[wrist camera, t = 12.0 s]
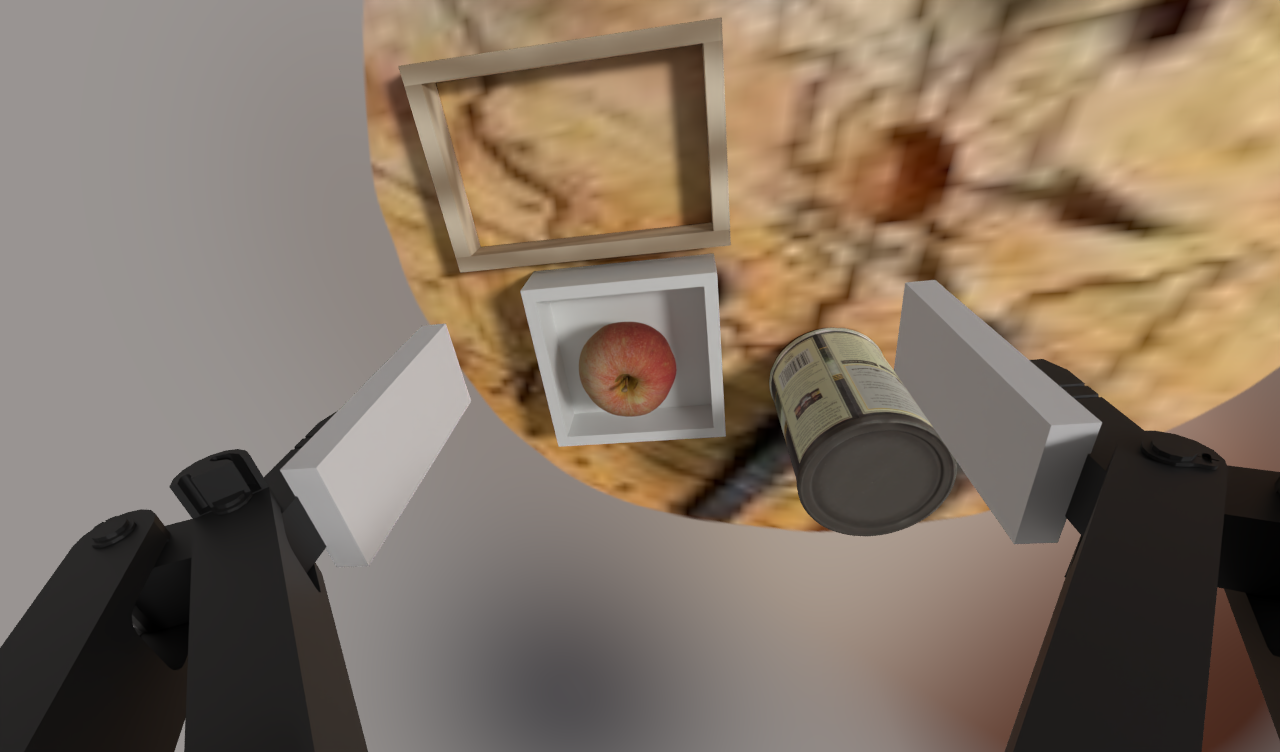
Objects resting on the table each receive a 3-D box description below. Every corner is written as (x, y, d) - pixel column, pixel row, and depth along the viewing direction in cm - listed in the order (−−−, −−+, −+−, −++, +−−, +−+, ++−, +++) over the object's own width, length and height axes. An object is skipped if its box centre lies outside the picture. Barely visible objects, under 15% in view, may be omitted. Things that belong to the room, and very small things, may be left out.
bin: (534, 271, 45) (520, 290, 41) (713, 253, 43) (717, 272, 39) (567, 418, 52) (558, 446, 49) (722, 408, 51) (725, 436, 47)
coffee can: (860, 433, 51) (916, 548, 39) (755, 413, 51) (778, 523, 39) (906, 337, 46) (987, 436, 34) (789, 315, 46) (828, 407, 34)
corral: (414, 65, 38) (398, 66, 36) (719, 20, 35) (721, 17, 33) (470, 262, 45) (460, 272, 43) (728, 236, 43) (730, 245, 40)
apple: (604, 290, 45) (590, 332, 38) (691, 326, 46) (693, 373, 39) (573, 367, 49) (555, 417, 42) (654, 398, 50) (650, 452, 43)
